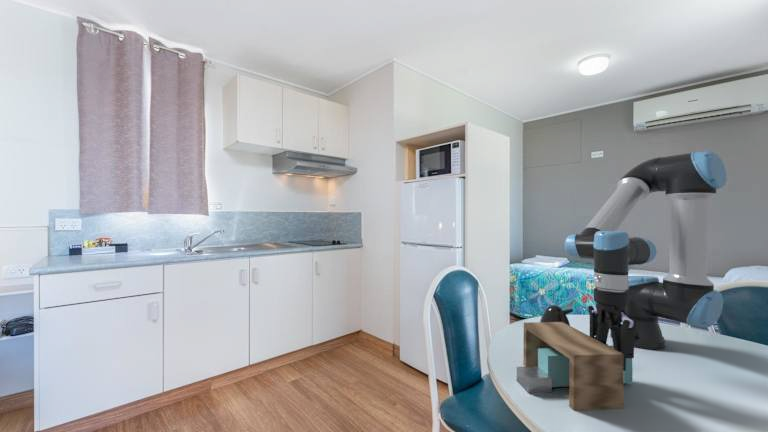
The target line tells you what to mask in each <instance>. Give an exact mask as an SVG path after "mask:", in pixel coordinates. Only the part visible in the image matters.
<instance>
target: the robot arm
mask: <svg viewBox="0 0 768 432" xmlns="http://www.w3.org/2000/svg"><path fill="white" fill-rule="evenodd" d="M726 182H727V170H726V166H725V164H724V161H723V160H722V158H721V157H720V156H719V154H717V153H715V152H714V151H694V152H693V151H692V152H690V153H689V152H688V153H683V154H675V155H669V156H662V157H661V156H660V157H655V158H651V159H648V160H645V161H644V162H643V161H642V162H641V163H639V164H638V165H636V166H634V167H633V168H631V169H630V170H628V171H627V173H625V174H624V175H623V176H622V177H621V178H620V179H619V180H618V182H617V184H616V189H615V191H614V192H613V193H612V194H611V195H610V197H608V199H607V200H606V202H605V203H604V204H603V205H602V207H601V208H600V209H599V210H598V211H597V213H596V214H595V215H594V217H592V219H591V220H590V222H589V223H588V224H587V225H586V226H585V228H584V229H583V230H582V231H581V232H580V233H579V234H578V233H575V234H573V233H572V234H570V235H568V236H567V237H566V239H565V241H564V249H565V251H566V253H567V254H568V256H570V257H573V258H578V259H586V260H592V261H593V286H594V288H593V301H594V302H595V303H596V304H595V305H588V306H587V309H588V312H589V313H588V314H589V336H590V337H592V338H594V339H596V340H598V341H600V342H601V343H603V344H605V345H607V346H609V345H608V343H607V341H608V337H609V332H610V337H611V339H612V345H613V346H614V349H615V350H617V351H619V352H621V353H622V354H624V357H623V382H624V371H625V370H626V359H627V358H632V359H634V358H635V348H639V349H646V350H662V349H664V348H665V347H666V339H665V337H664V336H663V333H662V329H661V326H660V324H659V318H662V319H666V320H669V321H672V322H673V321H675V322H677V323H681V324H685V325H688V326H694V327H699V328H703V329H704V328H710V327H713V326H714V325H715V324H716V323H717V322H718V320H719V318H720V316H721V314H722V312H723V307H724V298H723V294H722V293H721V292H720V291H718V290H714V287H715V286H714V285H715V284H714V282H712V281H711V280H710V279H709V278H708V249H709V248H708V244H709V243H708V241H709V214H710V213H709V212H710V211H709V210H710V209H709V208H710V207H709V206H710V204H709V203H710V200H711V199H712V198H714V197H715V196H717V190H720V189H722V188H724V186H726ZM656 192H657V193H658V192H665V197H666V198H667V199H669V200H670V201H671V202H670V203H671V204H670V205H671V207H670V234H669V235H670V237H669V239H670V240H669V242H670V243H669V268H668V269H669V273H668V274H666V276H664V277H663V278H662V282H661V281H660V278H659V277H657V276H653V275H651V276H650V275H629V266H633V265H634V266H637V265H638V266H639V265H640V266H641V265H644V264H648V263H651V262H652V261H653V260H654V259H655V258H656V257H657V252H658V251H657V247H656V245H655V243H653V242H652V241H651V240H650V239H648V238H646V237H641V236H633V237H629V234H628V233H627V232H626V231H620V230H619V228H620V227H621V226H622V225H623V223H624V222H625V220H626V219H627V218H628V216H629V215H630V214H631V213H632V211H633V210H634V209H635V208H636V206H637V204H638V203H639V202H640V201H641V200H643V199H646V198H647V197H648V196H649V195H650V194H651V193H656Z"/></svg>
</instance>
